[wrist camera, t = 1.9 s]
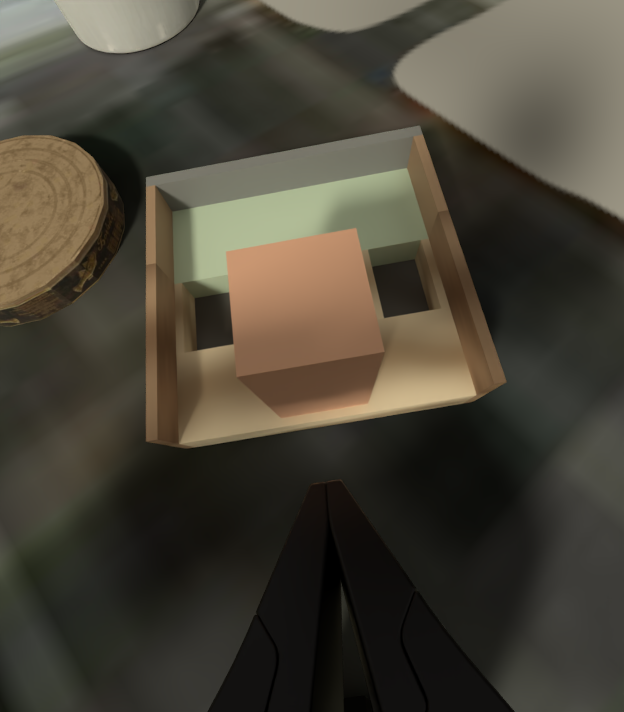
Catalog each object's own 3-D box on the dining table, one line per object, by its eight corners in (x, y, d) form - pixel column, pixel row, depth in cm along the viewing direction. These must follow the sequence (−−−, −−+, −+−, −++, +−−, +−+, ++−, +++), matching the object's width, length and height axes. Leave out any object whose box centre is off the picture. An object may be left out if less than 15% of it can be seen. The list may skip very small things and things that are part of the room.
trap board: (472, 402, 22) (506, 381, 18) (186, 448, 23) (146, 441, 18) (429, 258, 26) (448, 210, 21) (181, 302, 26) (146, 264, 22)
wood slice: (74, 348, 26) (41, 332, 24) (-97, 305, 29) (-145, 287, 26) (156, 177, 31) (137, 147, 28) (3, 154, 33) (-29, 124, 31)
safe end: (429, 258, 26) (448, 210, 21) (181, 302, 26) (146, 264, 22) (407, 184, 28) (419, 125, 23) (178, 226, 29) (146, 177, 24)
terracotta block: (367, 403, 20) (384, 352, 12) (281, 418, 21) (236, 376, 12) (351, 323, 22) (356, 227, 14) (271, 337, 22) (225, 251, 14)
